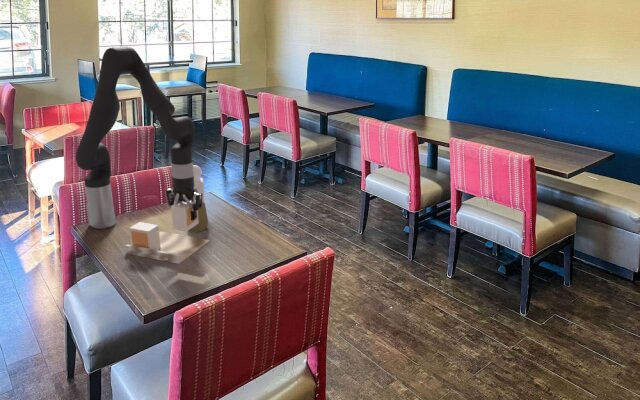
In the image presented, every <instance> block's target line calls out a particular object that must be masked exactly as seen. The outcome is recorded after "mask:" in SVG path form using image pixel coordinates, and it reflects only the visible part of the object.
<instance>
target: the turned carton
mask: <svg viewBox="0 0 640 400" xmlns="http://www.w3.org/2000/svg"><path fill="white" fill-rule="evenodd" d="M190 202H191V201H190ZM195 202H196V200H195ZM170 207H171V220H172V229H173V230H175V231H181V232H186V233H187V232H188V231H191V230H190V229H191V228H193V227H194V226H195V225H197V224H198V223H199V221H198V210H197V218H196V219H195V220H194V221H192V220H191V209H190V207H189V206H188V205H187V203H186V202H179V203H177V204H176V203H175V204H174V205H172V206H170Z"/></svg>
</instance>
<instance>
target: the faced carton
mask: <svg viewBox="0 0 640 400" xmlns="http://www.w3.org/2000/svg"><path fill="white" fill-rule="evenodd" d="M159 229H160V228H159V225H158V224H155V223H154V224H153V223H147V222H142V221H139V222H136V223H135V224H134V225H132V226H130V227H129V229H128V230H129V236H130V245H133V246H138V247H143V248H149V249H154V250H159V249H160V248H161V246H160V237H159V232H160V230H159Z"/></svg>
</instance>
